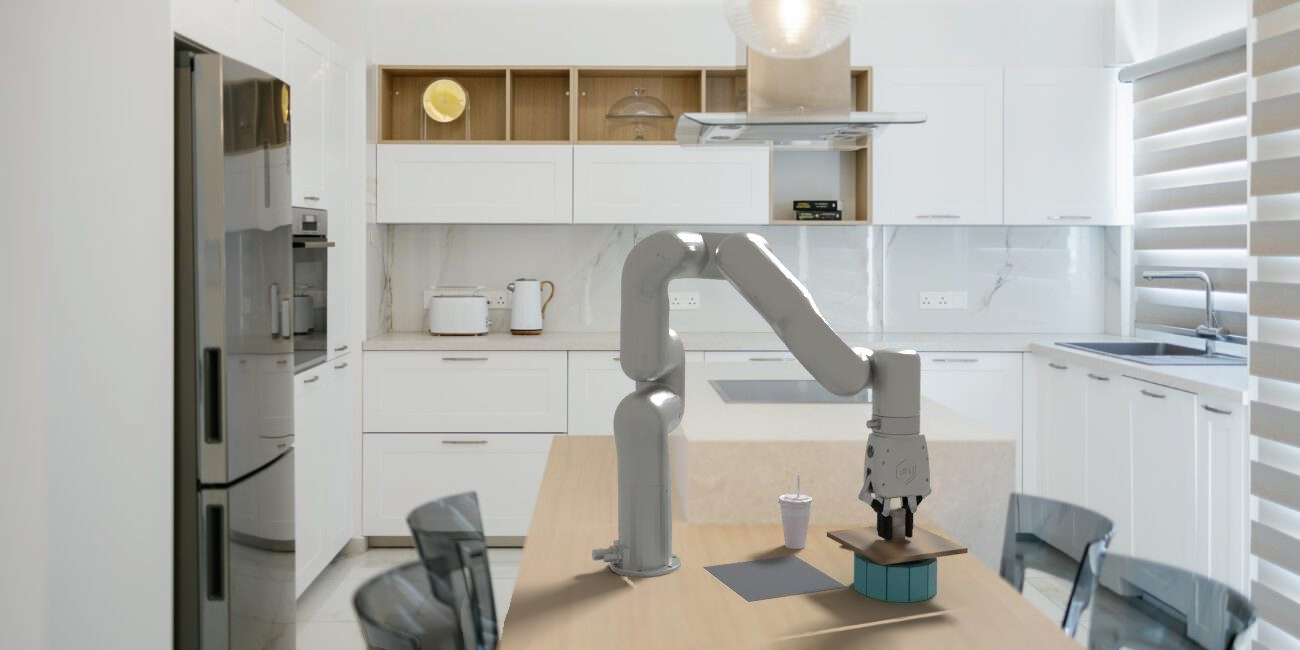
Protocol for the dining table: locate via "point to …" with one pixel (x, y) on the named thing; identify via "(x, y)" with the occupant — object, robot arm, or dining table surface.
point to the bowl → (895, 579)
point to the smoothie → (795, 517)
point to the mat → (773, 578)
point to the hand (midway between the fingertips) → (895, 535)
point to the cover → (896, 542)
